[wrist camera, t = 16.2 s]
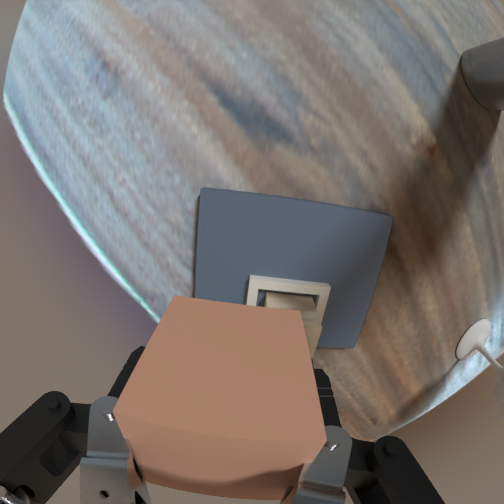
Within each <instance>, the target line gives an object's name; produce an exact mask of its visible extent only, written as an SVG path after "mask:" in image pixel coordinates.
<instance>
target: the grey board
mask: <svg viewBox="0 0 504 504" xmlns="http://www.w3.org/2000/svg"><path fill="white" fill-rule="evenodd" d="M392 222H393V217H392V216H390V215H388V214H384V213H379V212H374V211H368V210H363V209H358V208H352V207H347V206H341V205H335V204H329V203H323V202H317V201H310V200H304V199H297V198H290V197H283V196H275V195H267V194H259V193H251V192H242V191H233V190H224V189H214V188H202V189H201V192H200V204H199V218H198V233H197V251H196V273H195V298H197V299H204V300H212V301H219V302H227V303H234V304H242V305H251V306H260V307H264V304H265V297H266V292H274V293H283V294H293V295H303V296H312V298H313V301H314V304H315V307H316V310H317V313H318V316H319V319H320V322H321V325H322V330H321V334H320V337H319V340H318V343H317V347H323V348H354V346H355V344H356V341H357V339H358V336H359V333H360V331H361V328H362V325H363V323H364V320H365V317H366V314H367V311H368V308H369V305H370V302H371V299H372V296H373V293H374V290H375V286H376V283H377V280H378V276H379V273H380V270H381V266H382V262H383V259H384V255H385V251H386V247H387V243H388V239H389V235H390V231H391V226H392Z"/></svg>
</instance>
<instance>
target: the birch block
mask: <svg viewBox="0 0 504 504" xmlns="http://www.w3.org/2000/svg"><path fill="white" fill-rule="evenodd" d="M264 307H269V308H278V309H289V310H299V311H300V313H301V317H302V321H303V326H304V330H305V334H306V339H307V343H308V348H309V352H310V357H311V358H312V359H313V356H314V353H315V350H316V347H317V343H318V340H319V337H320V334H321V330H322V325H321V322H320V319H319V316H318V313H317V310H316V307H315V304H314V301H313V298H312V296H303V295H293V294H283V293H274V292H266V297H265V304H264Z"/></svg>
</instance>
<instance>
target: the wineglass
mask: <svg viewBox="0 0 504 504" xmlns="http://www.w3.org/2000/svg"><path fill="white" fill-rule="evenodd" d="M490 328H491V326H490V322H489V320H487V319H482V320H479V321H477V322H476V323H474V324H473V325H472V326H471V327H470V328H469V329H468V330H467V331H466V332H465V334H464V335H463V337H462V338H461V340H460V342H459V344H458V346H457V350H456V356H457V358H458V359H460V360H465V359H468V358H470V357H472V356H473V355H475V354H476V353H477V352H478V351H479V352H481V353H482V354H483V355H484V356H485V357H486V359H487V360H488V361H489V362H490V363H491V364H492V366H493V367H494V368H495V370H496V372H497V374H498V379H497V382H496V386H495V389H494V403H495V406H496V408H497V410H498V412H499V414H500V415H501V417H502V418H503V419H504V368H503V367H502V366H500V364H499V363H498V362H497V361H496V360H495V359H494V358H493V357H492V356H491V354H490V353H489V352H488V351H487V349H486V348H485V347H484V344H485V342H486V340H487V338H488V336H489V333H490Z"/></svg>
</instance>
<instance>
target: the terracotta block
mask: <svg viewBox="0 0 504 504" xmlns="http://www.w3.org/2000/svg"><path fill="white" fill-rule="evenodd" d="M113 414H114V416H115V419H116V421H117V423H118V426H119V428H120V430H121V432H122V435H123V437H124V438H127V439H129V441H130V443H131V445H132V454H133V457H134V459H135V461H136V463H137V465H139V466H142V468H143V470H144V473H145V479H146V481H147V482H149V483H153V484H157V485H161V486H164V487H169V488H173V489H178V490H182V491H187V492H193V493H199V494H206V495H212V496H219V497H228V498H240V499H256V500H281V499H282V497H283V495H284V492H285V490H286V489H287V487H288V486H294V485H295V482H296V480H297V477H298V474H299V472H300V469H301V468H302V466H303V465H304V463H312V462H313V460H314V459H315V458H316V456H317V455H318V453H319V452H320V450H321V449H322V447H323V446H324V444H325V443H326V441H327V437H326V432H325V426H324V421H323V416H322V411H321V406H320V401H319V396H318V391H317V386H316V381H315V376H314V371H313V366H312V362H311V357H310V352H309V348H308V343H307V339H306V334H305V330H304V326H303V321H302V317H301V313H300V311H299V310H289V309H278V308H269V307H260V306H251V305H242V304H234V303H227V302H219V301H212V300H204V299H197V298H191V297H184V296H177V295H175V296H174V298H173V300H172V301H171V303H170V305H169V307H168V308H167V310H166V312H165V314H164V315H163V317H162V319H161V321H160V322H159V324H158V326H157V328H156V330H155V331H154V333H153V335H152V337H151V339H150V340H149V342H148V344H147V346H146V348H145V350H144V351H143V353H142V355H141V357H140V359H139V361H138V363H137V364H136V366H135V368H134V370H133V372H132V374H131V376H130V378H129V380H128V382H127V384H126V385H125V387H124V389H123V391H122V393H121V395H120V397H119V399H118V401H117V403H116V405H115V407H114V409H113Z"/></svg>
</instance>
